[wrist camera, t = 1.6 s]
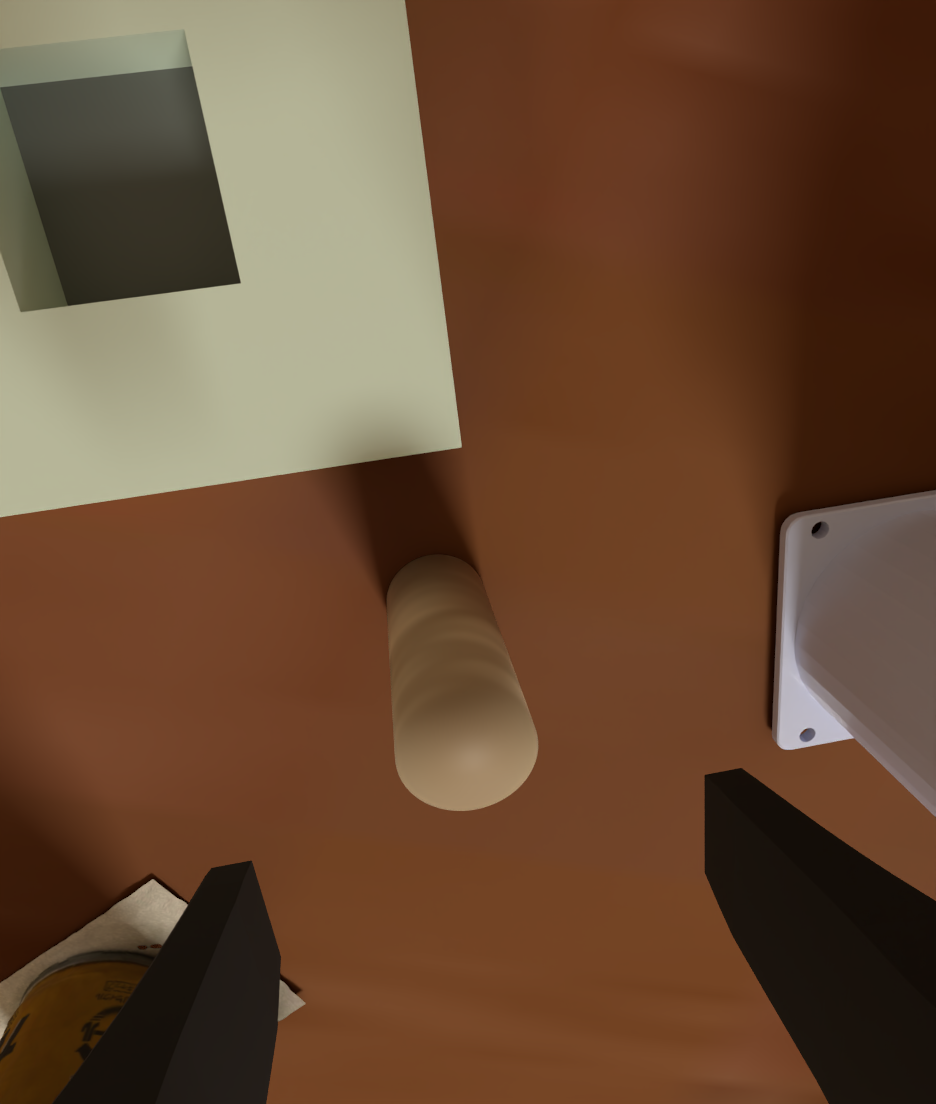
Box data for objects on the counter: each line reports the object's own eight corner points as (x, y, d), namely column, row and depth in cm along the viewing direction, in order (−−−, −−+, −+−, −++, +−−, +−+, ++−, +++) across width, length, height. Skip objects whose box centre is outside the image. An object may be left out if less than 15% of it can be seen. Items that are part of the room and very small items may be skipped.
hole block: (367, -183, 14) (367, -289, 12) (448, 421, 19) (461, 447, 16) (-279, -126, 14) (-446, -227, 11) (-34, 492, 18) (-107, 533, 15)
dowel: (479, 546, 20) (531, 678, 14) (490, 635, 21) (544, 796, 15) (378, 562, 20) (383, 704, 14) (394, 652, 21) (406, 822, 15)
